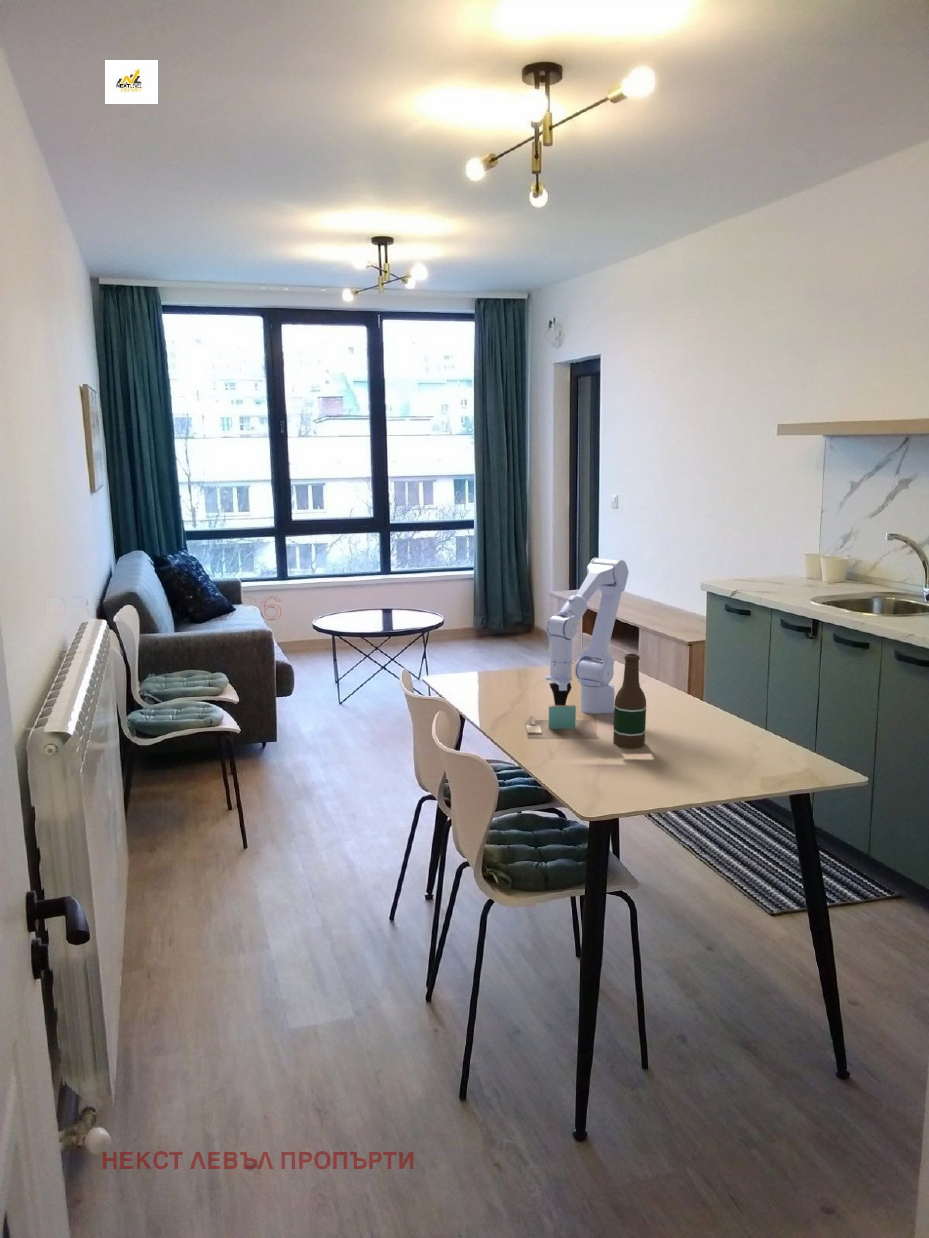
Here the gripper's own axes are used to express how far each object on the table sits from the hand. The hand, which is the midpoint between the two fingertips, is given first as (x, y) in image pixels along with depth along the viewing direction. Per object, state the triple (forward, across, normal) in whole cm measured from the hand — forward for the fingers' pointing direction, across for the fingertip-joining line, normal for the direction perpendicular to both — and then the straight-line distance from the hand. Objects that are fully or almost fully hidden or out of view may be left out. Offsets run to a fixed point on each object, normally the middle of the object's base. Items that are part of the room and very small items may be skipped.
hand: (559, 709), depth 240 cm
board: (+5, +6, 0) cm, 8 cm away
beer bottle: (+5, +18, +16) cm, 24 cm away
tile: (+3, +5, 0) cm, 6 cm away
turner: (+3, +4, -7) cm, 9 cm away
